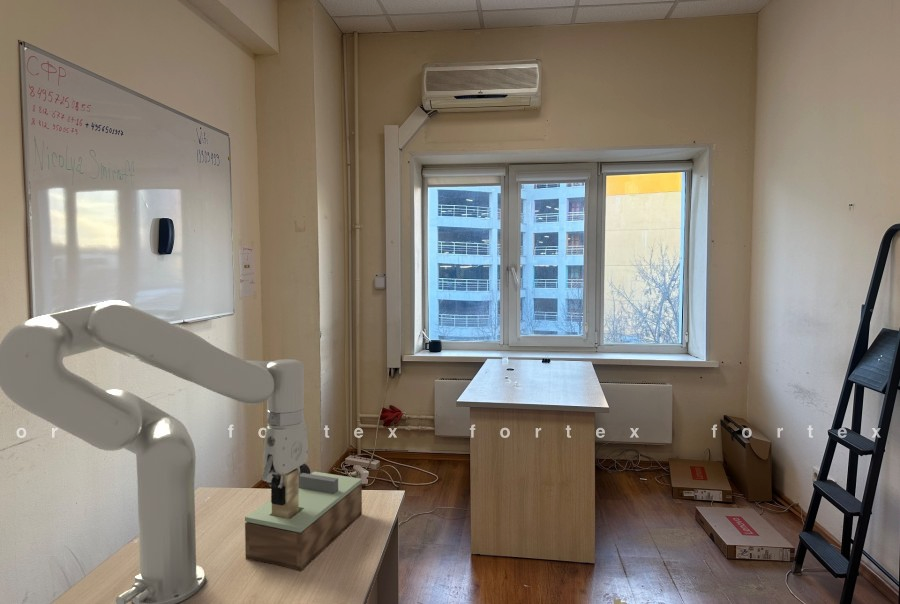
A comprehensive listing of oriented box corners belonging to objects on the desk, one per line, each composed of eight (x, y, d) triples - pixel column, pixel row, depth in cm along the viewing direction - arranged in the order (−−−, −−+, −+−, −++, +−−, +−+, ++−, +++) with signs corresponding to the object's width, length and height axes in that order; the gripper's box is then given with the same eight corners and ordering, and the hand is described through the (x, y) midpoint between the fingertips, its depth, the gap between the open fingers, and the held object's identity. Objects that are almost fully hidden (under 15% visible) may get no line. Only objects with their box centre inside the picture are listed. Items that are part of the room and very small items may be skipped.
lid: (300, 532, 103) (300, 513, 103) (244, 521, 107) (244, 503, 107) (361, 482, 127) (361, 467, 127) (314, 475, 132) (314, 460, 132)
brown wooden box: (301, 571, 103) (300, 534, 103) (245, 558, 108) (245, 522, 107) (361, 514, 128) (361, 483, 127) (314, 505, 132) (314, 476, 132)
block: (287, 530, 107) (287, 475, 107) (271, 527, 108) (271, 472, 108) (298, 521, 111) (298, 468, 110) (283, 518, 112) (283, 466, 112)
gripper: (275, 429, 99) (274, 519, 100) (322, 409, 115) (321, 487, 116) (244, 425, 102) (244, 513, 103) (294, 406, 118) (293, 482, 118)
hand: (285, 498), depth 109 cm, fingers closed on block, 4 cm apart
